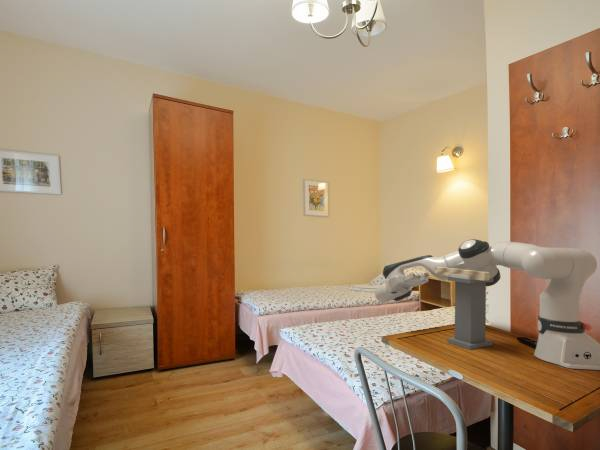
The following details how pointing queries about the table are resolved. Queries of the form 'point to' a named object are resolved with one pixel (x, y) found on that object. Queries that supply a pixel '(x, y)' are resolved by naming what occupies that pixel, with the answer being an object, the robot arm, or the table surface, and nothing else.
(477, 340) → the stand
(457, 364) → the table surface
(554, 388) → the table surface
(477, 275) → the lath
